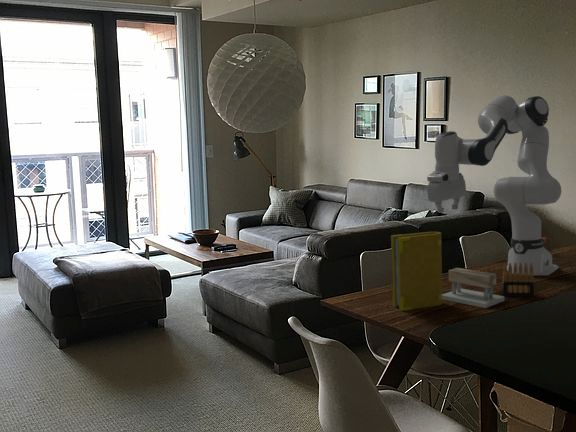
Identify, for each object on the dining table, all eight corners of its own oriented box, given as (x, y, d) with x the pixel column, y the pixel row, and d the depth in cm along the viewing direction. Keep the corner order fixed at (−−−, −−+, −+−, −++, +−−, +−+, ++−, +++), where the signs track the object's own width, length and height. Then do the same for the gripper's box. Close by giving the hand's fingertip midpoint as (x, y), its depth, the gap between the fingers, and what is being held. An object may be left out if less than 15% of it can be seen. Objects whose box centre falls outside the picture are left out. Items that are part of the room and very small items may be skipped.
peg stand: (460, 292, 239) (460, 276, 238) (504, 300, 225) (504, 283, 224) (440, 299, 231) (440, 282, 230) (485, 308, 217) (485, 290, 216)
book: (401, 310, 219) (399, 238, 215) (393, 305, 225) (391, 235, 222) (446, 304, 224) (445, 233, 220) (436, 300, 230) (435, 230, 226)
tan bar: (456, 278, 235) (456, 267, 234) (496, 285, 223) (496, 274, 222) (448, 281, 232) (448, 270, 231) (488, 288, 220) (488, 276, 219)
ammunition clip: (502, 295, 231) (502, 263, 230) (502, 294, 233) (502, 261, 231) (534, 296, 229) (534, 263, 227) (533, 294, 230) (533, 262, 229)
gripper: (455, 172, 254) (456, 206, 256) (424, 177, 241) (425, 213, 243) (469, 172, 250) (470, 207, 252) (438, 177, 236) (439, 215, 238)
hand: (447, 210), depth 247 cm, fingers open, 8 cm apart
